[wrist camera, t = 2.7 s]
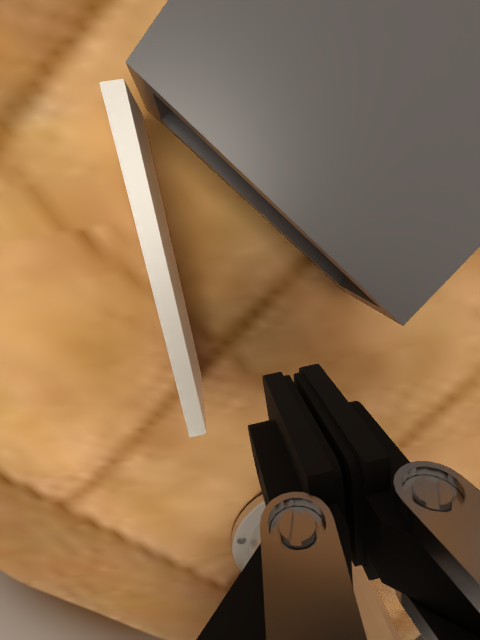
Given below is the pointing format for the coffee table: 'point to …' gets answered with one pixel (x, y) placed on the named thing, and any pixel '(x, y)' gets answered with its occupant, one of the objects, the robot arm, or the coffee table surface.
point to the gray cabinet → (334, 127)
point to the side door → (156, 246)
